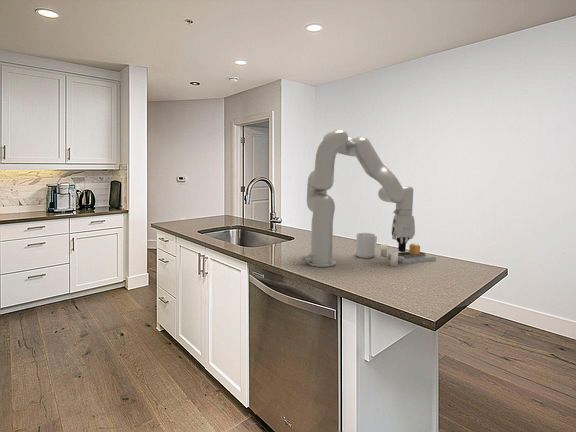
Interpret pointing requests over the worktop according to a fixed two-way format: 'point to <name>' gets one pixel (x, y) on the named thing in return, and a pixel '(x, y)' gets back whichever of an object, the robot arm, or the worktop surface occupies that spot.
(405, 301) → the worktop surface
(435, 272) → the worktop surface
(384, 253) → the post far
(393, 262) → the post near
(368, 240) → the mug
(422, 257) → the panel
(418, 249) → the toggle
